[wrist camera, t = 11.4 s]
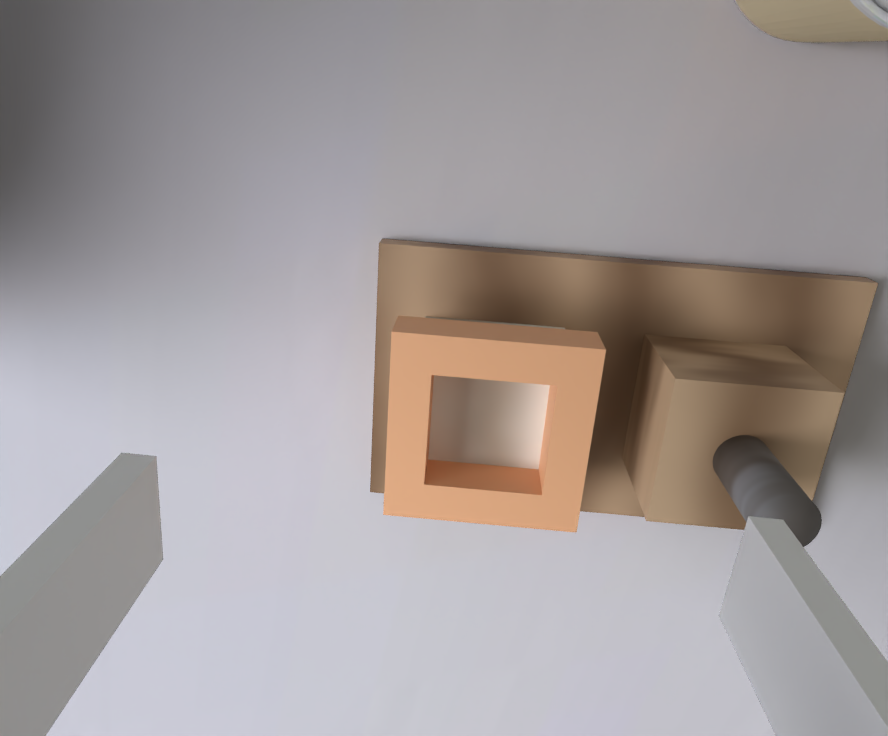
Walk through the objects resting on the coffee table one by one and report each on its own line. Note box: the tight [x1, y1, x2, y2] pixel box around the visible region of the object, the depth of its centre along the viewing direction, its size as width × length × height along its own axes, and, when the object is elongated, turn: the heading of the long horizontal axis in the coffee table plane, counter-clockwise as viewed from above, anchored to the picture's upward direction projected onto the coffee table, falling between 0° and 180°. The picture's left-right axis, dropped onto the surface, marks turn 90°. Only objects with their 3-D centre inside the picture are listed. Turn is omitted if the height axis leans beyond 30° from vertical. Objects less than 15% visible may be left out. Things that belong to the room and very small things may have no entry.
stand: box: [370, 239, 878, 547], centre depth 31 cm, size 24×14×12 cm, turn 86°
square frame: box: [383, 315, 606, 532], centre depth 32 cm, size 9×9×2 cm
